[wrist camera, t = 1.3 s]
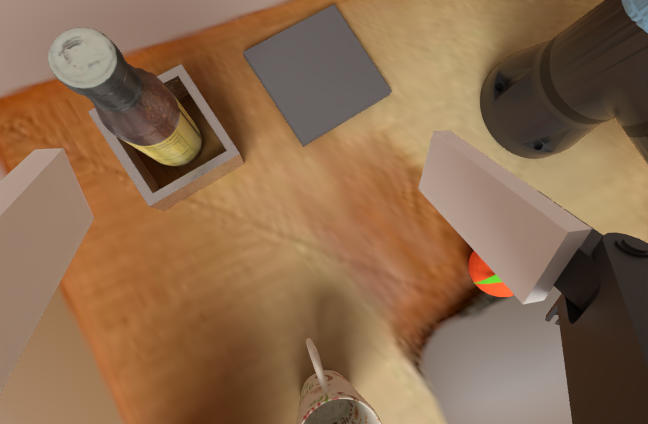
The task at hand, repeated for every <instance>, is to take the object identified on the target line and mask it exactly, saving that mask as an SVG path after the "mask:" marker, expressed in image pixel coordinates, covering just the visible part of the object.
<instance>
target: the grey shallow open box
mask: <svg viewBox="0 0 648 424" xmlns="http://www.w3.org/2000/svg"><path fill="white" fill-rule="evenodd" d="M157 78H159V79H160V80H161V81H162V82H163V84H164V85H165V86H166V87H167V88H168V89H169V90H170V91H171V92H172V94H173V95H174V96H175V98H176V99H177V100H179V99H181V98H183V97H185V96H187V95H190V96H191V98H192V99H193V101H194V102H195V104H196V105H197V107H198V108H199V110H200V111H201V113H202V115H203V116H204V118H205V119H206V121H207V122H208V124H209V125H210V127H211V128H212V130H213V131H214V133H215V135H216V136H217V138H218V139H219V141H220V142H221V144H222V145H223V147H224V148H225V150H226V152H224V153H222V154H220V155H219V156H217V157H215V158H213V159H212V160H210V161H208V162H207V163H205V164H203V165H201V166H200V167H198V168H196V169H194V170H193V171H191V172H189V173H187V174H186V175H184V176H182V177H181V178H179V179H177V180H175V181H174V182H172V183H170V184H168V185H167V186H165V187H163V188H161V189H160V188H159V186H158V185H157V183H156V181H155V180H154V178H153V177H152V175H151V174H150V172H149V171H148V169H147V168H146V166H145V164H144V163H143V161H142V160H141V158H140V157H139V155H138V154H137V152H136V151H135V149H134V148H133V146H131V145H130V144H128V143H126V142H125V141H123V140H121V139H120V138H118V137H117V136H115V135H114V134H112V133H111V132H110V131H109V130H108V129H107V128H106V127H105V126H104V125H103V123H102V122H101V120H100V118H99V116H98V113H97V111H96V108H94V109H92V110H91V111H89V112H88V113H89V114H90V116H91V117H92V119H93V120H94V122H95V124H96V125H97V127H98V128H99V130H100V131H101V133H102V134H103V136H104V137H105V139H106V141H107V142H108V144H109V145H110V147H111V148H112V150H113V151H114V153H115V154H116V156H117V158H118V159H119V161H120V162H121V164H122V165H123V167H124V168H125V170H126V171H127V173H128V175H129V176H130V178H131V179H132V181H133V182H134V184H135V185H136V187H137V188H138V190H139V192H140V193H141V195H142V196H143V198H144V199H145V201H146V202H147V204H148V206H149V207H152V208H156V209H159V210H162V211H165V210H167V209H168V208H170V207H172V206H173V205H175V204H177V203H179V202H180V201H182V200H184V199H185V198H187V197H189V196H190V195H192V194H194V193H195V192H197V191H199V190H201V189H202V188H204V187H206V186H207V185H209V184H211V183H212V182H214V181H216V180H217V179H219V178H221V177H223V176H224V175H226V174H228V173H229V172H231V171H233V170H234V169H236V168H238V167H239V166H241V165H243V164H244V162H243V160H242V157H241V155H240V153H239V152H238V150H237V149H236V147H235V145H234V144H233V142H232V141H231V139H230V138H229V136H228V135H227V133H226V132H225V130H224V129H223V127H222V126H221V124H220V122H219V121H218V119H217V118H216V116H215V115H214V113H213V112H212V110H211V109H210V107H209V106H208V104H207V103H206V101H205V99H204V98H203V96H202V95H201V93H200V92H199V90H198V89H197V87H196V86H195V84H194V83H193V81H192V80H191V78H190V76H189V75H188V73H187V72H186V70H185V69H184V67H183V66H182V64H180V65H178V66H176V67H174V68H173V69H171V70H169V71H167V72H165V73H163V74H161V75H159V76H157Z"/></svg>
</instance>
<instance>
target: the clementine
mask: <svg viewBox="0 0 648 424" xmlns="http://www.w3.org/2000/svg"><path fill="white" fill-rule="evenodd" d="M468 266H469V273H470V276H471V278H472V280H473V282H474V283H475V284H476V285H477V286H478V287H479V288H480V289H481V290H482V291H484V292H486V293H488V294H490V295H493V296H497V297H509V296H512V295H514V294H513V293H512V292H511V291H510V289H509V288H508V287H507V286H506V285H505V284H504V283H503V282H502V281H501V280H500V278H499V277H498V276H497V275H496V274H495V273H494V272H493V271H492V270H491V269H490V267H489V266H488V265H487V264H486V263H485V262H484V261H483V260H482V259H481V258H480V256H479V255H478V254H477V253H476V252H475V251H473V252H472V254H471V256H470V259H469V264H468Z"/></svg>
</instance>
